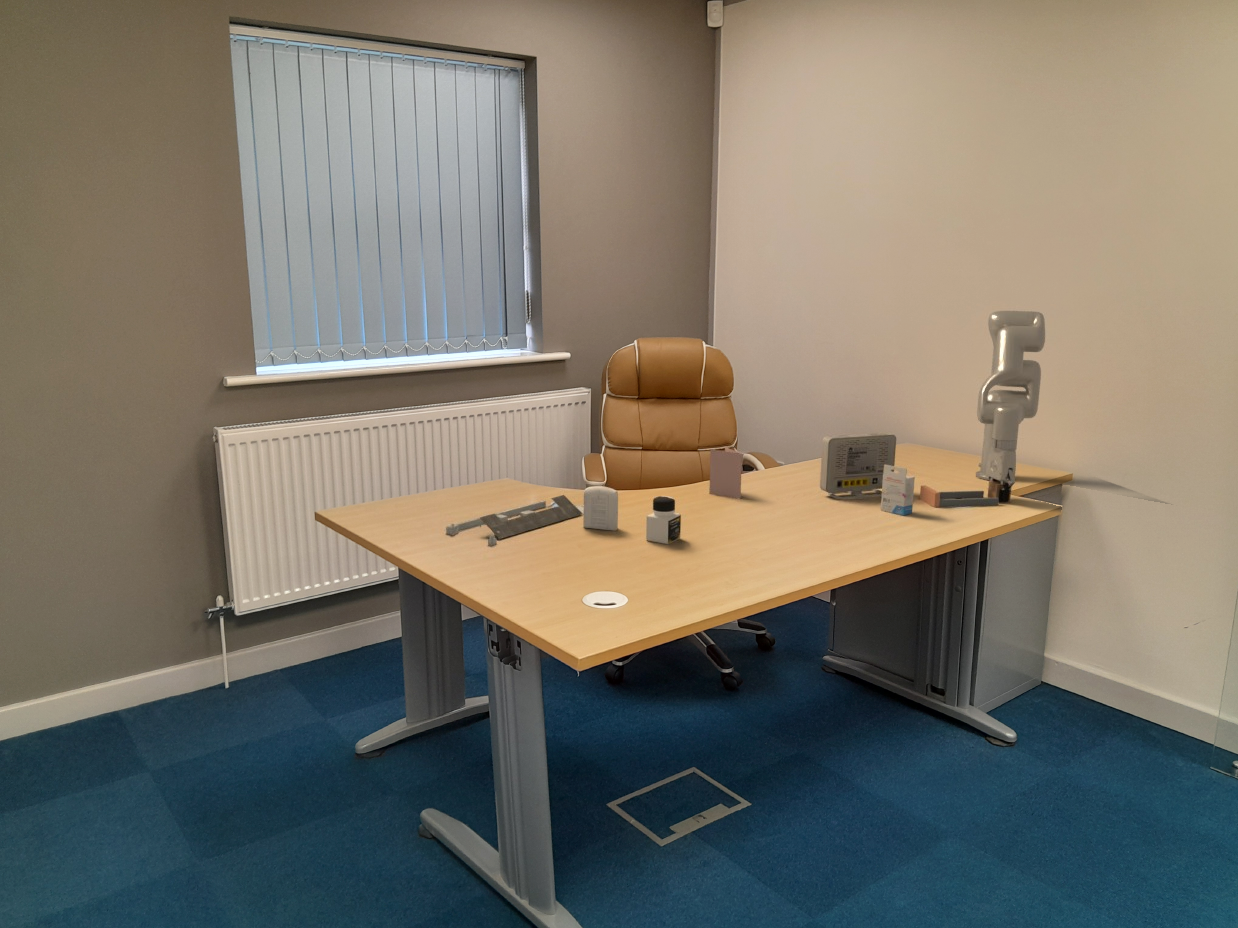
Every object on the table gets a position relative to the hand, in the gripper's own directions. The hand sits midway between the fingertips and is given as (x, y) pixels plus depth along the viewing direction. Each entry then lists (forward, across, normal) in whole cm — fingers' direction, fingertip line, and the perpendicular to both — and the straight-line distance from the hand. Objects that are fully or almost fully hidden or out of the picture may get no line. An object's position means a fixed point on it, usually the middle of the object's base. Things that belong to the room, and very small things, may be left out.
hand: (998, 498), depth 299 cm
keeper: (+1, 0, 0) cm, 1 cm away
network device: (+1, -13, -43) cm, 45 cm away
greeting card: (+1, -17, -87) cm, 89 cm away
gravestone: (+1, +16, -132) cm, 133 cm away
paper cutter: (+1, +8, -153) cm, 154 cm away
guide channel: (+1, 0, -13) cm, 13 cm away
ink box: (+1, +9, -39) cm, 40 cm away
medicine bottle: (+1, +29, -116) cm, 120 cm away
